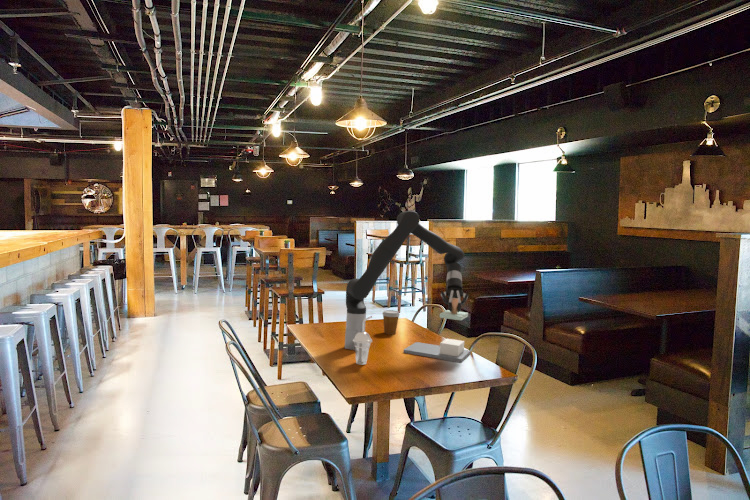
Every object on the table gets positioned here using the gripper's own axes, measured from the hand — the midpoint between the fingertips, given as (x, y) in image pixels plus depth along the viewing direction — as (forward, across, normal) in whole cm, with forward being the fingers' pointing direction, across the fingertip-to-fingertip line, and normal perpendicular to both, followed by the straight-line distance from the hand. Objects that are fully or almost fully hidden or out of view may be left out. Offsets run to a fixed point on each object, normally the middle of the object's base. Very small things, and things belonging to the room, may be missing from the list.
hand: (454, 310), depth 233 cm
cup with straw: (+31, -40, 0) cm, 51 cm away
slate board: (+12, -6, +18) cm, 23 cm away
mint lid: (+1, 0, +4) cm, 4 cm away
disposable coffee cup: (-13, -31, +44) cm, 55 cm away
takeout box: (+13, 0, +16) cm, 20 cm away
